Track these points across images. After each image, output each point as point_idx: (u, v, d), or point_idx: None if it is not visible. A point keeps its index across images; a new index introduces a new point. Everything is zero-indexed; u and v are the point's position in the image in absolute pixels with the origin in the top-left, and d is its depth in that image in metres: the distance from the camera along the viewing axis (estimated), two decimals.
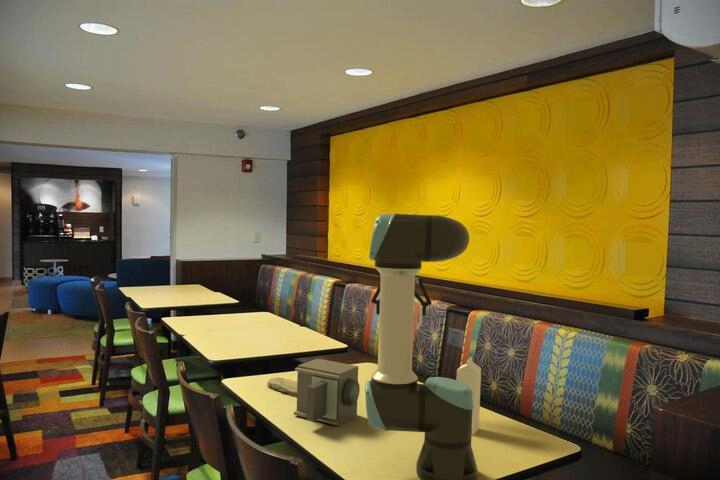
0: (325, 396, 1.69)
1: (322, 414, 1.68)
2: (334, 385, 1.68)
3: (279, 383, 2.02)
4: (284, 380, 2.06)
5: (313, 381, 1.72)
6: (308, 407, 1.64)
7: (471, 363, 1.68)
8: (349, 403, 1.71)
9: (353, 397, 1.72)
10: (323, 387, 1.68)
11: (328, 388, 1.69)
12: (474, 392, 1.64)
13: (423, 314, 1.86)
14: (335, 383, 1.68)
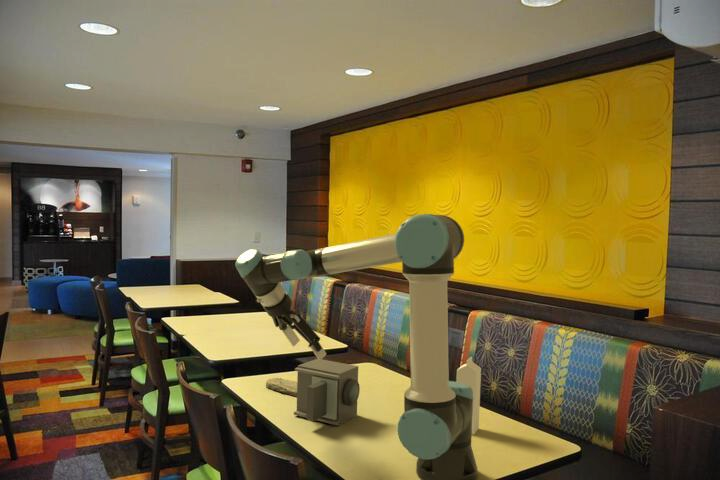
0: (325, 396, 1.69)
1: (322, 414, 1.68)
2: (334, 385, 1.68)
3: (278, 383, 2.02)
4: (283, 380, 2.06)
5: (313, 381, 1.72)
6: (308, 407, 1.64)
7: (471, 363, 1.68)
8: (349, 403, 1.71)
9: (353, 397, 1.72)
10: (323, 387, 1.68)
11: (328, 388, 1.69)
12: (474, 392, 1.64)
13: None
14: (335, 383, 1.68)
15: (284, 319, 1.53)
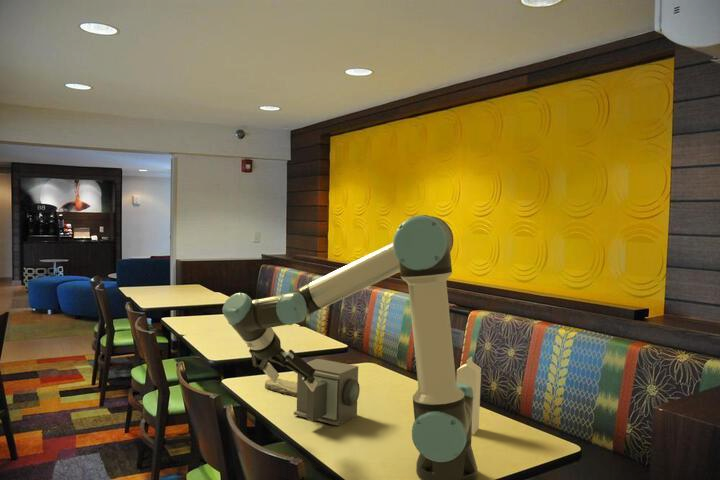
0: (325, 396, 1.69)
1: (322, 414, 1.68)
2: (334, 385, 1.68)
3: (278, 384, 2.01)
4: (282, 381, 2.05)
5: None
6: (308, 407, 1.64)
7: (471, 363, 1.68)
8: (349, 403, 1.71)
9: (353, 397, 1.72)
10: (323, 387, 1.68)
11: (328, 388, 1.69)
12: (474, 392, 1.64)
13: None
14: (335, 383, 1.68)
15: (274, 358, 1.46)
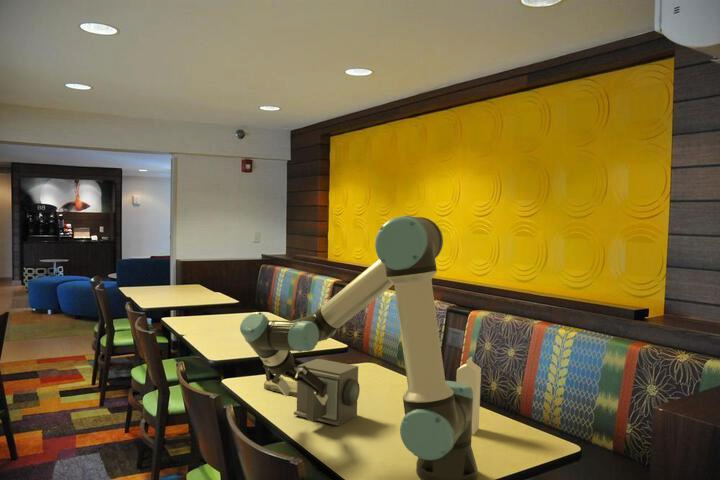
0: None
1: (322, 414, 1.68)
2: (334, 385, 1.68)
3: None
4: None
5: None
6: (308, 407, 1.64)
7: (471, 363, 1.68)
8: (349, 403, 1.71)
9: (353, 397, 1.72)
10: None
11: (328, 388, 1.69)
12: (474, 392, 1.64)
13: None
14: (335, 383, 1.68)
15: (288, 374, 1.53)
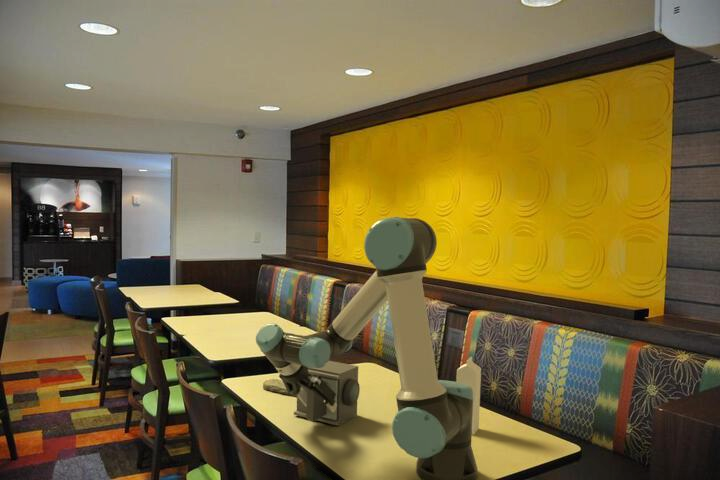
0: None
1: (322, 414, 1.68)
2: (334, 385, 1.68)
3: (277, 384, 2.00)
4: (280, 381, 2.04)
5: None
6: (308, 407, 1.64)
7: (471, 363, 1.68)
8: (349, 403, 1.71)
9: (353, 397, 1.72)
10: None
11: None
12: (474, 392, 1.64)
13: None
14: (335, 383, 1.68)
15: (302, 383, 1.57)
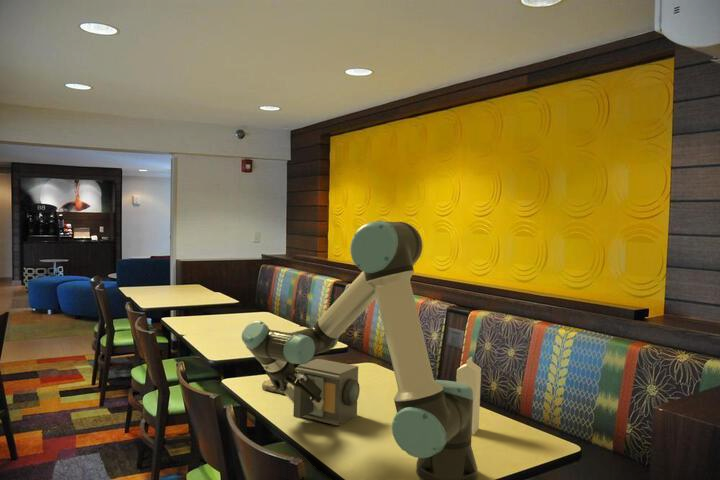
0: None
1: (309, 411, 1.70)
2: (321, 382, 1.70)
3: None
4: None
5: None
6: (295, 404, 1.67)
7: (471, 363, 1.68)
8: (349, 403, 1.71)
9: (353, 397, 1.72)
10: None
11: None
12: (474, 392, 1.64)
13: None
14: (322, 380, 1.70)
15: (289, 379, 1.60)
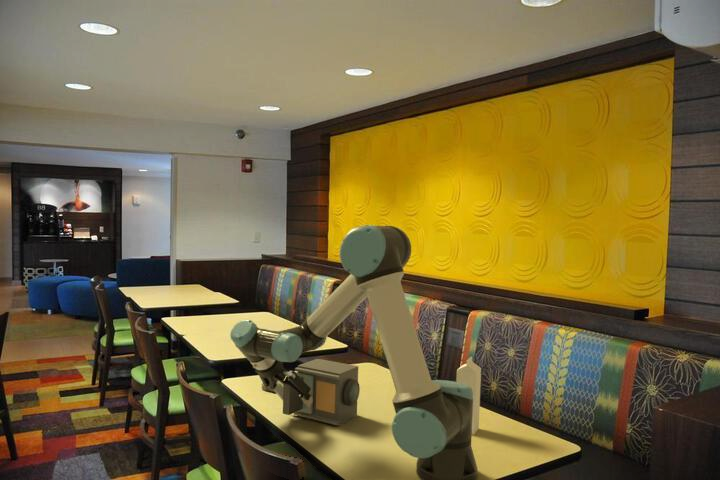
0: None
1: (298, 408, 1.72)
2: (310, 380, 1.72)
3: None
4: (279, 381, 2.04)
5: None
6: (284, 401, 1.69)
7: (471, 363, 1.68)
8: (349, 403, 1.71)
9: (353, 397, 1.72)
10: None
11: None
12: (474, 392, 1.64)
13: None
14: (311, 378, 1.72)
15: (278, 377, 1.62)
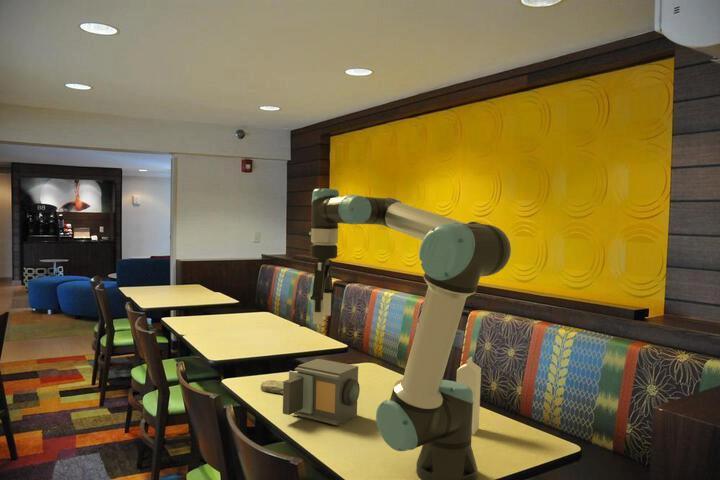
0: (301, 391, 1.73)
1: (298, 408, 1.72)
2: (310, 380, 1.72)
3: (277, 385, 1.99)
4: (278, 382, 2.03)
5: (290, 376, 1.76)
6: (284, 401, 1.69)
7: (471, 363, 1.68)
8: (349, 403, 1.71)
9: (353, 397, 1.72)
10: (299, 381, 1.72)
11: (305, 383, 1.74)
12: (474, 392, 1.64)
13: None
14: (311, 378, 1.72)
15: None
